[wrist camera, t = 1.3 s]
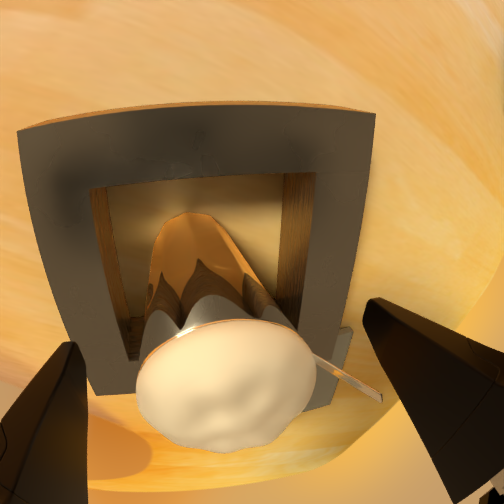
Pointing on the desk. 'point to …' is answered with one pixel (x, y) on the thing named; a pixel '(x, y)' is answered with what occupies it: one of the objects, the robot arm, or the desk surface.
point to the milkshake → (219, 346)
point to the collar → (192, 166)
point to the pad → (326, 379)
